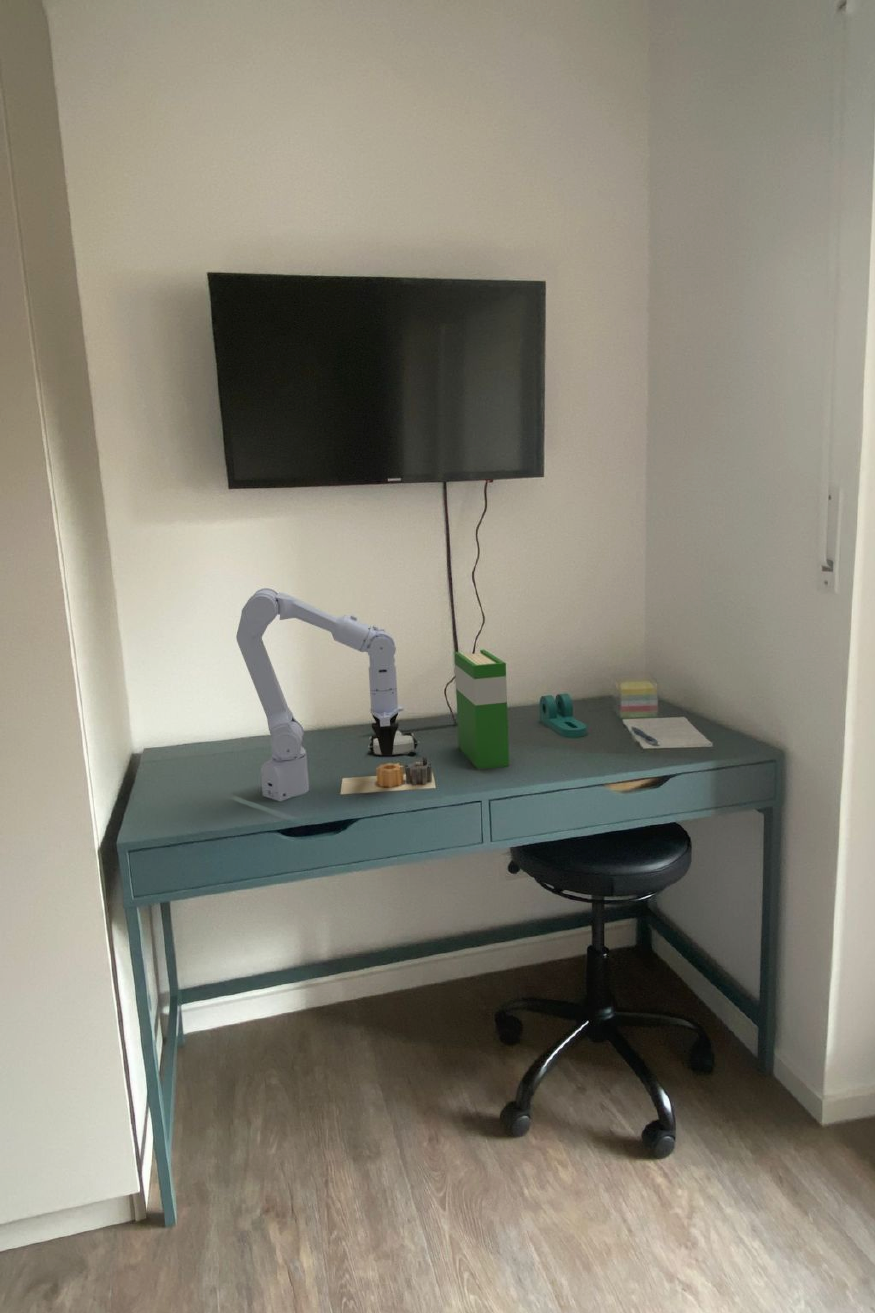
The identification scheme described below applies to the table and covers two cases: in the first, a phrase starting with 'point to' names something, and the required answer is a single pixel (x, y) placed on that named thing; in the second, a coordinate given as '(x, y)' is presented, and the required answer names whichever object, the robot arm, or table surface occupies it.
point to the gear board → (413, 779)
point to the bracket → (561, 716)
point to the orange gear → (389, 774)
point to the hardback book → (482, 709)
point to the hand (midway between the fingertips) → (387, 749)
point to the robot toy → (396, 744)
